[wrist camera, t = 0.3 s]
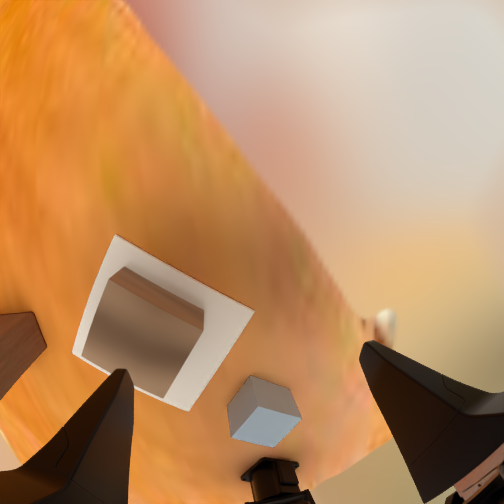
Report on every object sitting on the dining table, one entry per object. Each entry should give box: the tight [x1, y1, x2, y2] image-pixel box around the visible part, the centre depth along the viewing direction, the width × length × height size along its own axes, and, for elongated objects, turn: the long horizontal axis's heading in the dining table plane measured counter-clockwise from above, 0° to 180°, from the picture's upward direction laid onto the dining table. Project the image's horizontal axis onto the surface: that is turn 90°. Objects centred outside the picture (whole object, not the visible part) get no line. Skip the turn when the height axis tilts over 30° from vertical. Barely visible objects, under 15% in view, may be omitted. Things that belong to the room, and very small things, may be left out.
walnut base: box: [81, 266, 204, 398], centre depth 21 cm, size 8×8×4 cm
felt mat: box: [72, 234, 255, 412], centre depth 23 cm, size 14×14×1 cm
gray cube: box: [227, 375, 302, 448], centre depth 24 cm, size 5×5×5 cm
